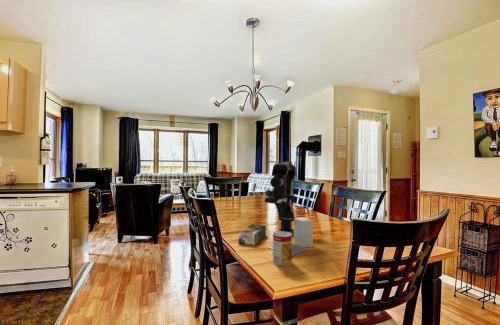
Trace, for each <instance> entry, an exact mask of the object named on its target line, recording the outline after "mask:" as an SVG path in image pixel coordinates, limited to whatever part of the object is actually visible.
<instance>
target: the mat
mask: <svg viewBox="0 0 500 325" xmlns="http://www.w3.org/2000/svg"><path fill="white" fill-rule="evenodd" d="M268 249H269V250H271V249H272V251H273V245H272V246H268ZM308 251H310V250H309V248H307V247H300V246H298V245H297V244H295V243H294V244H293V243H292V257H294V256H297V255H298V254H299V255H300V254H303V253H306V252H308Z"/></svg>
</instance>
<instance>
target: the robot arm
mask: <svg viewBox="0 0 500 325" xmlns="http://www.w3.org/2000/svg"><path fill="white" fill-rule="evenodd" d="M272 166H273V167H272V171H271V177H272V178H271V179H270V182H269V183H270V185H271V187H272V188H273V189H272V190H270V189H268V190H265V196H266V197H265V198H264V203H267V204H274V205H275V206H276V210H277V213H278V220H279V221H280V228H279V231H285V232H292V231H293V232H294V228H293V222H294V218H295V213H294V211H293V210H294V209H293V207H292V206H291V203H292V202H293V201H296V197H295V195H294V194H292V192H293V183H294V181H296V176H297V174H298V172H297V167H296V166H295V165H294V164H293V162H292V161H283V162H282V163H274V165H272Z"/></svg>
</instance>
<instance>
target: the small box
mask: <svg viewBox="0 0 500 325" xmlns="http://www.w3.org/2000/svg"><path fill="white" fill-rule="evenodd" d="M313 221H314V220H312V219H310V218H307V217H304V216H303V217H294V221H293V229H294V230H293V243H294V245H297V246H300V247H303V248H309V247H310V248H311V247H313V246H314V244H313V243H314V242H313V241H314V238H313V236H314V235H313V233H314V232H313V230H314V227H313V226H314V222H313Z"/></svg>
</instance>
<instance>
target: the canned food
mask: <svg viewBox="0 0 500 325" xmlns="http://www.w3.org/2000/svg"><path fill="white" fill-rule="evenodd" d="M292 244H293V234H292V232H291V231H289V232H285V231H282V230H279V231H275V232H273V233H272V246H273V250H272V263H273V264H274V263H275V264H274V265H276V264H277V265H276V266H279V265H281V266H282V267H287V265H288V266H291V265H292V263H293V262H292V261H293V256H292ZM281 266H280V267H281Z"/></svg>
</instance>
